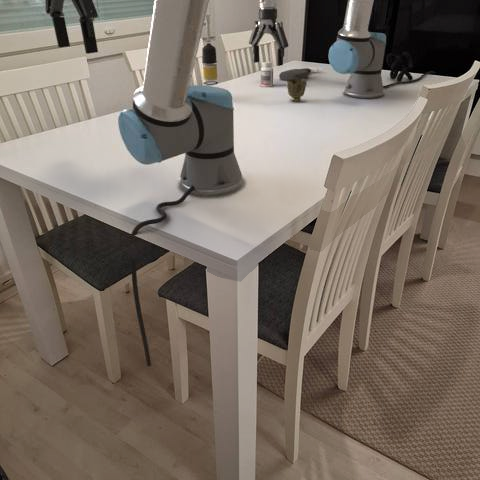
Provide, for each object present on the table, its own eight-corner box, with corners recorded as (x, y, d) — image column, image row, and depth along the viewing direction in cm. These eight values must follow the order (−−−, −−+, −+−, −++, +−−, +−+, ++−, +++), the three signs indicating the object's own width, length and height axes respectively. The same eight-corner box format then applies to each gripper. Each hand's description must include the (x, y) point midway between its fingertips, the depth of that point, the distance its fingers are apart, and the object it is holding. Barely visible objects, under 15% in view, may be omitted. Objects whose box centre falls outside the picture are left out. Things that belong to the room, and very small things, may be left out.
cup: (283, 102, 172) (284, 80, 168) (290, 97, 178) (291, 76, 173) (301, 104, 169) (302, 82, 165) (308, 99, 175) (309, 78, 170)
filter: (220, 99, 177) (217, 15, 161) (206, 100, 176) (202, 16, 160) (215, 96, 182) (212, 14, 166) (202, 97, 180) (197, 14, 164)
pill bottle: (266, 83, 200) (266, 60, 194) (275, 85, 196) (276, 62, 191) (258, 85, 196) (258, 62, 191) (267, 87, 193) (267, 63, 188)
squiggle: (400, 92, 202) (376, 71, 205) (417, 76, 202) (392, 56, 205) (405, 81, 191) (380, 59, 194) (423, 64, 191) (397, 42, 194)
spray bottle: (276, 79, 206) (305, 70, 222) (296, 82, 200) (324, 73, 216) (277, 72, 204) (305, 64, 220) (297, 75, 198) (325, 67, 214)
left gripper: (15, -56, 100) (39, 46, 111) (67, -61, 85) (89, 58, 96) (47, -56, 105) (67, 42, 116) (102, -60, 89) (119, 53, 101)
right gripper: (239, 8, 186) (241, 62, 197) (285, 9, 170) (284, 68, 181) (252, 6, 190) (253, 59, 201) (298, 8, 175) (296, 65, 186)
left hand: (77, 49), depth 106 cm, fingers open, 13 cm apart
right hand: (268, 63), depth 191 cm, fingers open, 13 cm apart
